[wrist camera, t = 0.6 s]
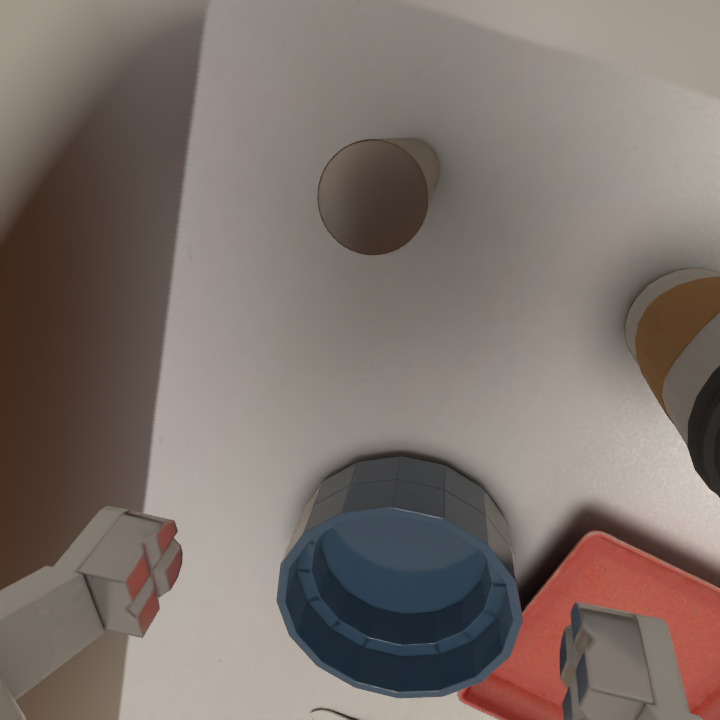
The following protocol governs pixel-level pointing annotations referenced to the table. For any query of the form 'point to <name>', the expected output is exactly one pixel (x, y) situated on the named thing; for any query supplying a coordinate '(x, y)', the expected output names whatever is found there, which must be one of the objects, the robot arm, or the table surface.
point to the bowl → (401, 580)
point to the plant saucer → (612, 590)
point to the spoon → (326, 715)
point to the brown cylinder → (377, 193)
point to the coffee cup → (683, 358)
